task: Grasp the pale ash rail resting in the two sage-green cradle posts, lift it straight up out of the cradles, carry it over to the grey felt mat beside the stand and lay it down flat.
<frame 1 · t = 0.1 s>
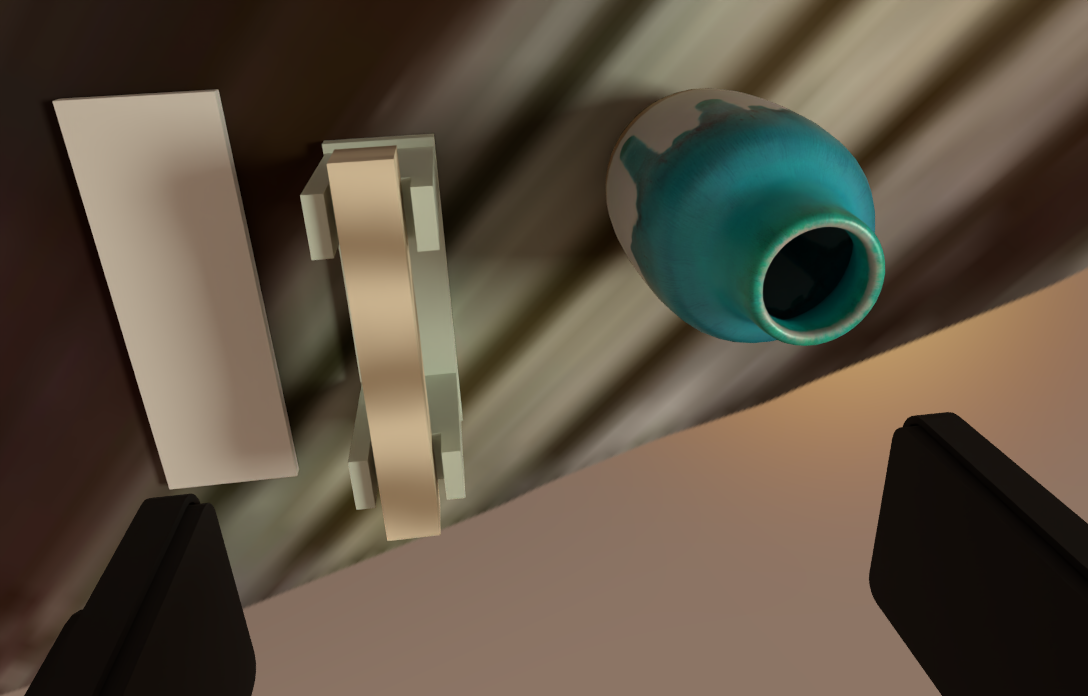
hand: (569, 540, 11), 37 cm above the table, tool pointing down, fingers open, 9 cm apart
rail: (393, 344, 40), point 8 cm above the table, touching cradle stand
felt mat: (193, 306, 46), on the table
vase: (676, 168, 47), on the table
cradle stand: (399, 288, 48), on the table
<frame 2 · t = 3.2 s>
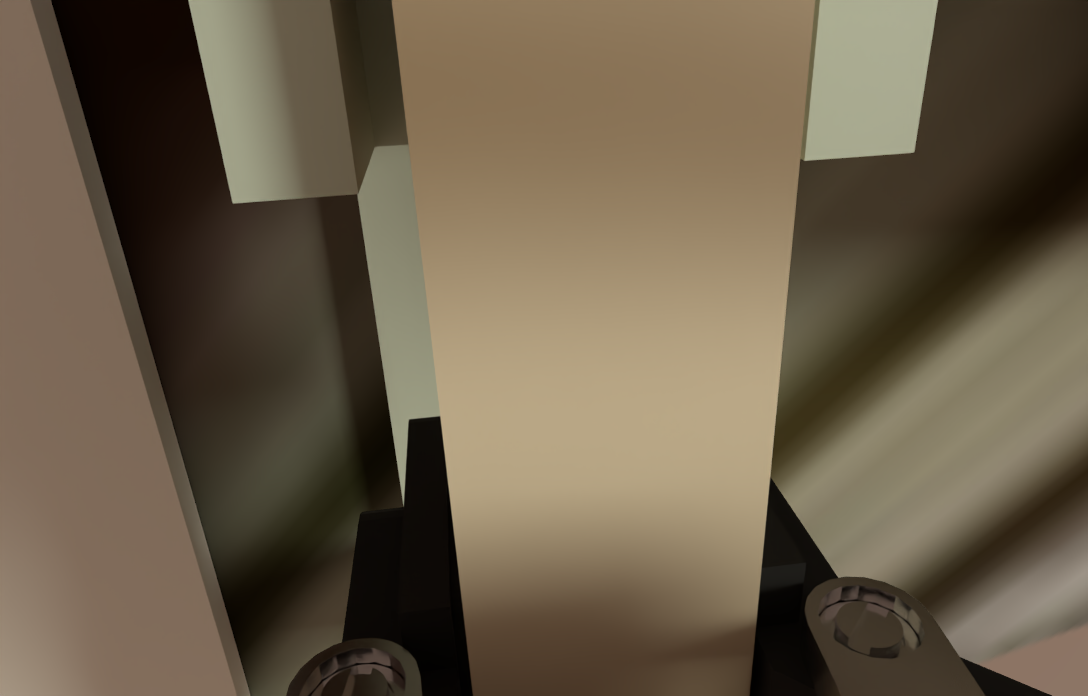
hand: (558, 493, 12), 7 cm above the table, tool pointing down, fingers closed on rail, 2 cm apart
rail: (570, 544, 11), point 8 cm above the table, touching cradle stand, gripper
cradle stand: (515, 317, 18), on the table
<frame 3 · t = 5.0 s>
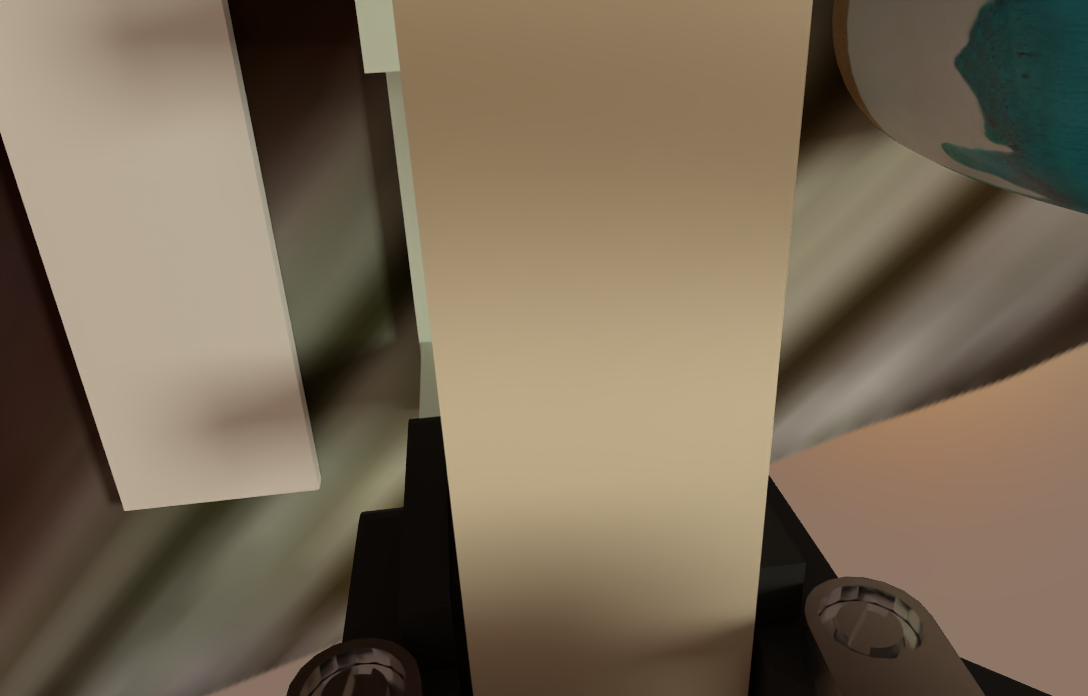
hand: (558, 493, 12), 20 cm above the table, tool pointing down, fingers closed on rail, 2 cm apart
rail: (570, 543, 11), point 21 cm above the table, touching gripper
felt mat: (157, 219, 29), on the table
vase: (921, 0, 30), on the table
cradle stand: (482, 194, 30), on the table
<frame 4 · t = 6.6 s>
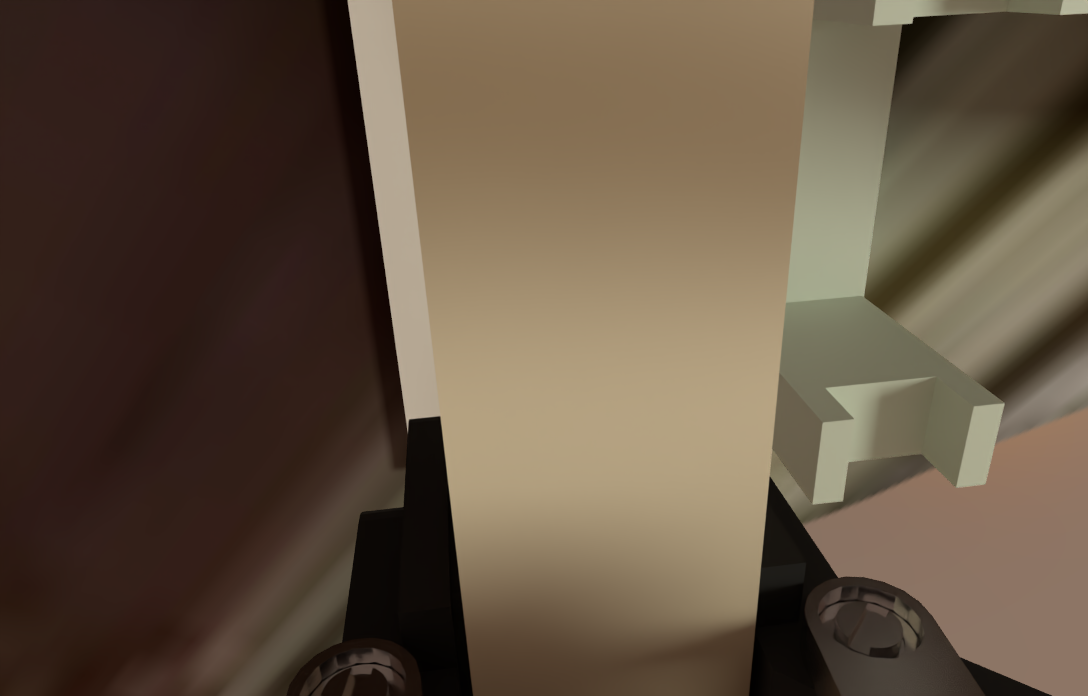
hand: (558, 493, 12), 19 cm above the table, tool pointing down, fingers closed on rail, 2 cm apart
rail: (570, 546, 11), point 21 cm above the table, touching gripper
felt mat: (485, 183, 29), on the table
cradle stand: (795, 160, 30), on the table
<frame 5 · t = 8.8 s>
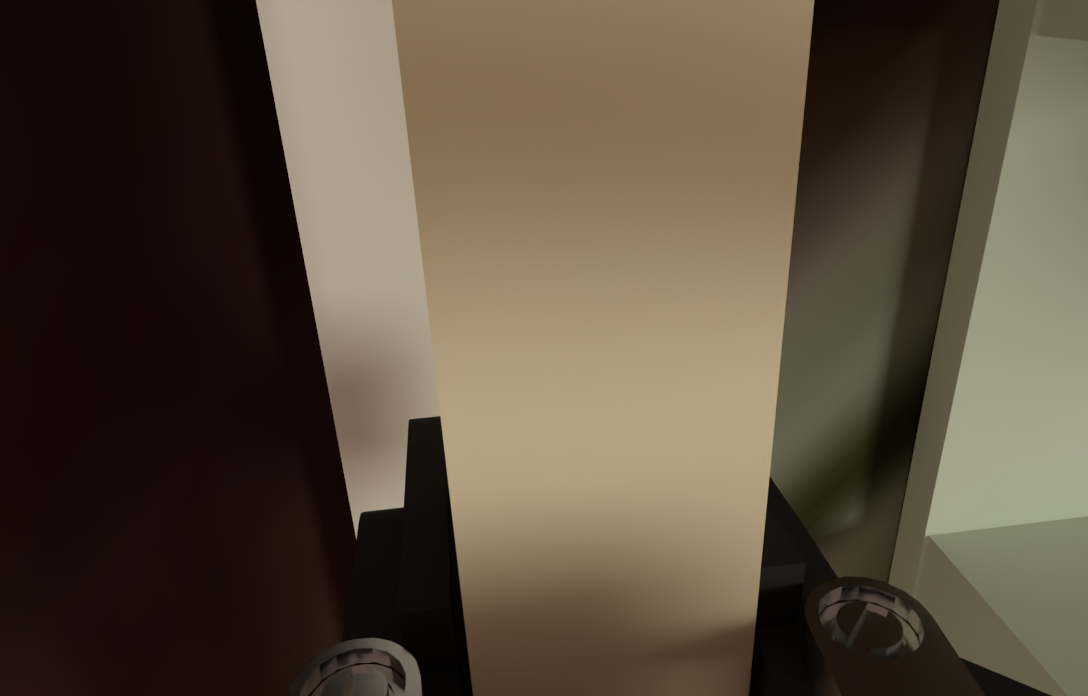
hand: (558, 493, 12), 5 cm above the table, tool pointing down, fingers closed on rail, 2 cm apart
rail: (570, 547, 11), point 6 cm above the table, touching gripper
felt mat: (528, 342, 16), on the table
cradle stand: (1070, 292, 17), on the table
when the fingers open (1 cm above the table, at t = 10.3 s): rail drops 2 cm, resting on felt mat.
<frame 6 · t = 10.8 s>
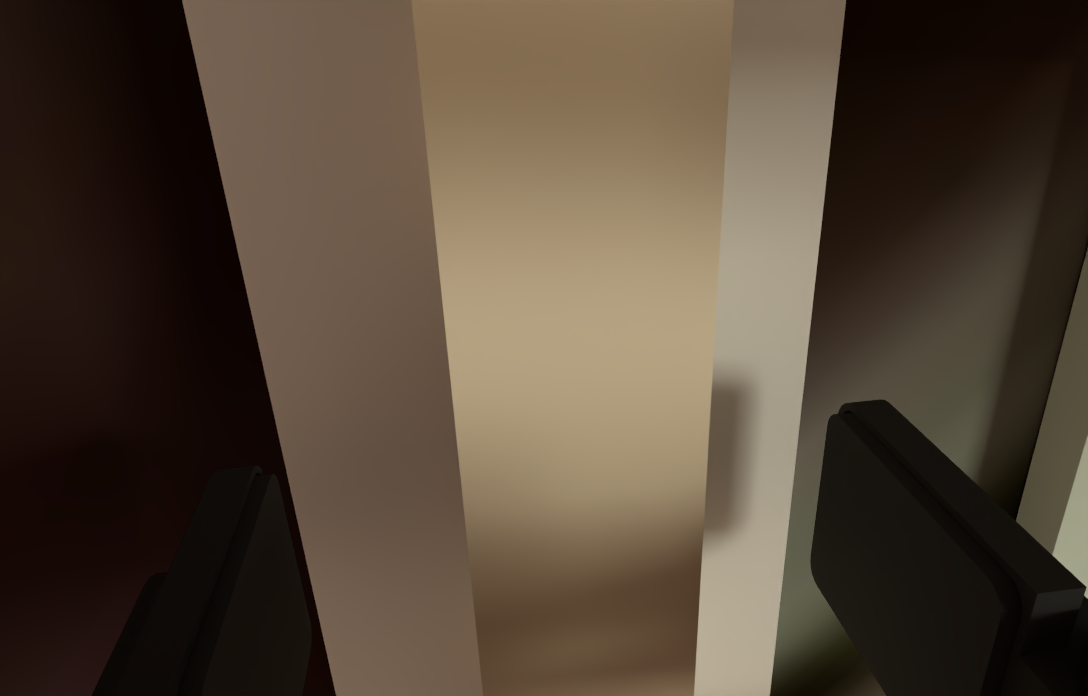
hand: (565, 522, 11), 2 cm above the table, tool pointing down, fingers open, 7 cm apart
rail: (555, 468, 12), point 1 cm above the table, touching felt mat
felt mat: (546, 444, 13), on the table
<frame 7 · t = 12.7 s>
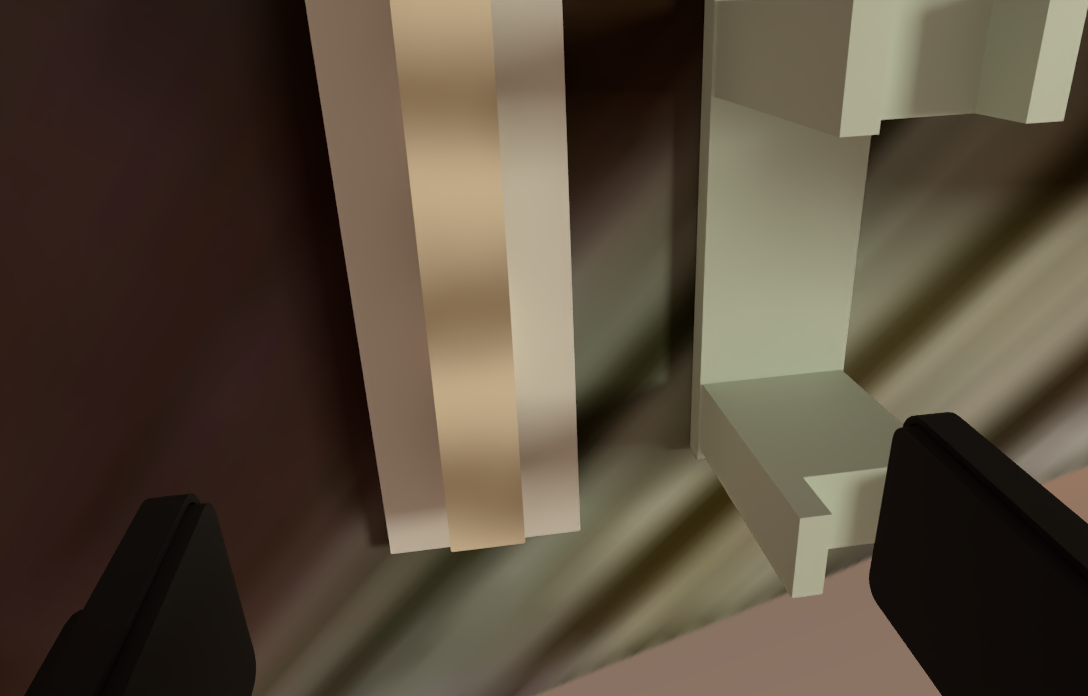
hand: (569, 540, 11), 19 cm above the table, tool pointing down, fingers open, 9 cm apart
rail: (462, 270, 28), point 1 cm above the table, touching felt mat
felt mat: (460, 264, 29), on the table
cradle stand: (772, 237, 30), on the table
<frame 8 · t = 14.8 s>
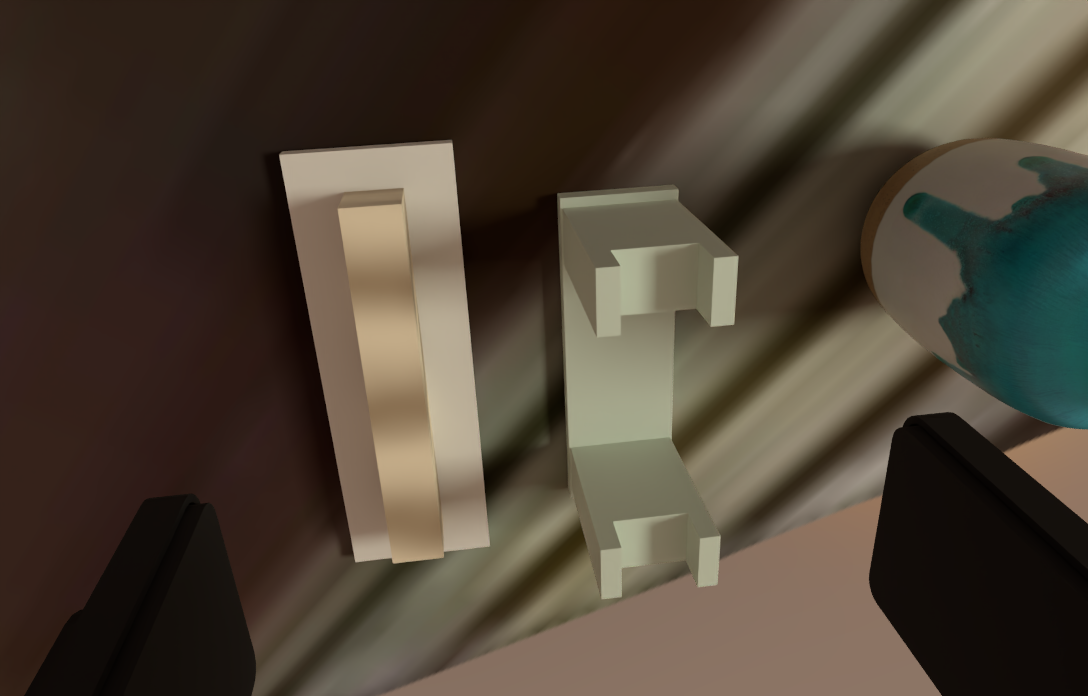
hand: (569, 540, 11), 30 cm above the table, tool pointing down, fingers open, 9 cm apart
rail: (399, 375, 42), point 1 cm above the table, touching felt mat
felt mat: (398, 369, 43), on the table
vase: (920, 218, 43), on the table
cradle stand: (616, 348, 44), on the table
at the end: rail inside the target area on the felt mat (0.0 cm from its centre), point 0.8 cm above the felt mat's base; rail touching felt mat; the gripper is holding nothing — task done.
